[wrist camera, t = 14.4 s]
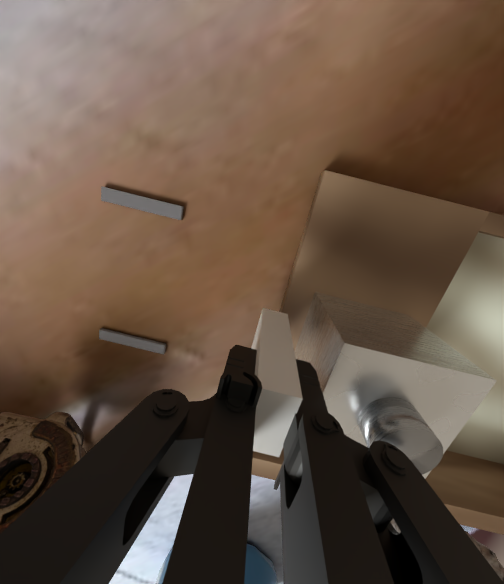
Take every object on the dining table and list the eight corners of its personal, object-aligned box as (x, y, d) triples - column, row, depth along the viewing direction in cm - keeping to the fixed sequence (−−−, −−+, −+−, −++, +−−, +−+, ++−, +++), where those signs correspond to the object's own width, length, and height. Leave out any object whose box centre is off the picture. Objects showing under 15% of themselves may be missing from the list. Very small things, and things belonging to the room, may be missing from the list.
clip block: (315, 291, 15) (359, 368, 7) (408, 314, 15) (539, 412, 8) (288, 369, 16) (301, 488, 9) (370, 389, 17) (445, 523, 9)
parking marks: (104, 186, 14) (101, 186, 14) (183, 206, 14) (182, 206, 14) (101, 337, 18) (99, 338, 18) (165, 352, 18) (163, 354, 18)
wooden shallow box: (321, 173, 13) (349, 151, 9) (699, 268, 13) (931, 299, 9) (248, 415, 19) (241, 480, 15) (508, 478, 20) (584, 562, 15)
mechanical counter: (124, 381, 19) (-16, 543, 10) (138, 486, 23) (49, 672, 14) (41, 372, 20) (-173, 520, 10) (69, 477, 24) (-64, 653, 14)
